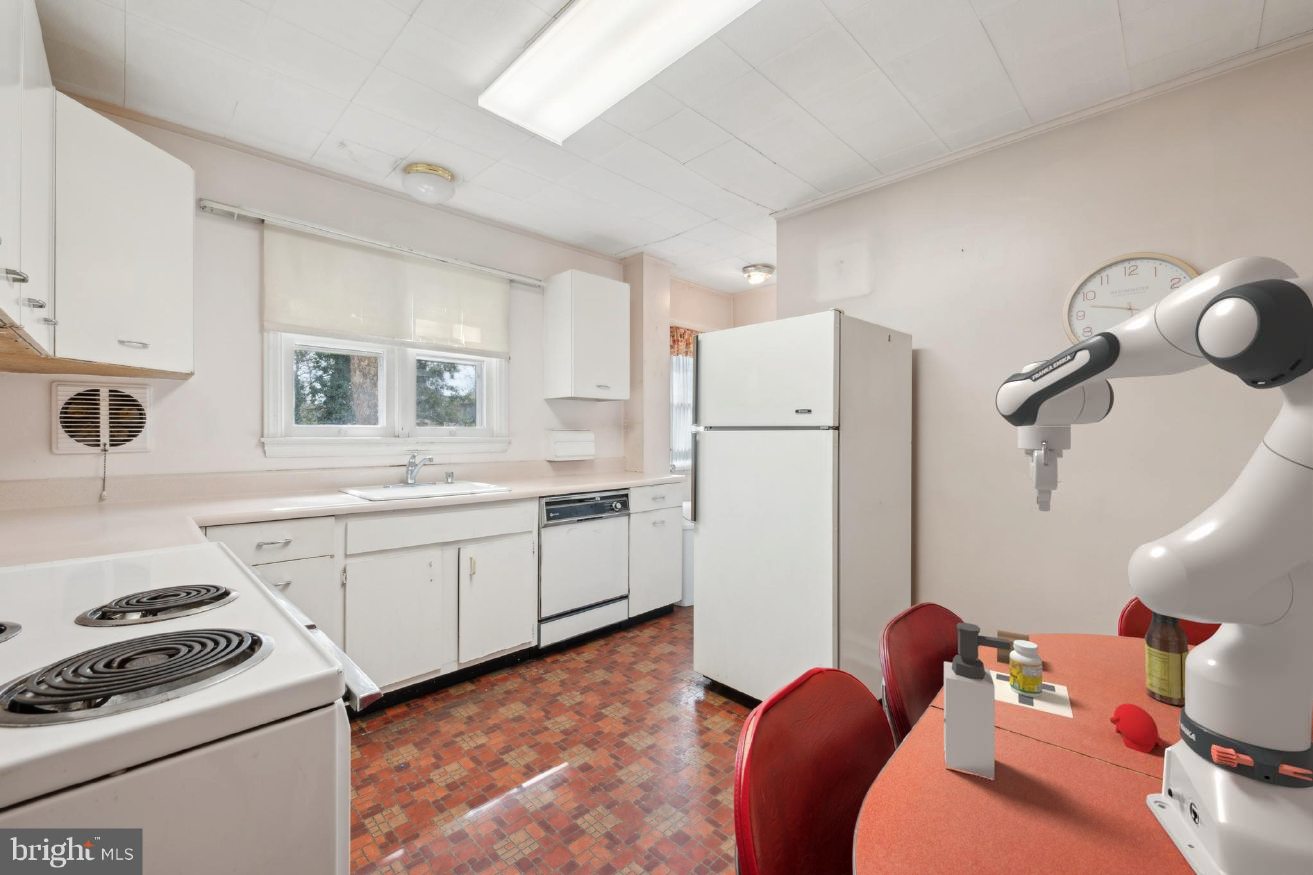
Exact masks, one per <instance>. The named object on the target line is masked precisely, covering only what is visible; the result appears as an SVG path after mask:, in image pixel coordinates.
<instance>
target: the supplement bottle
mask: <svg viewBox="0 0 1313 875" xmlns="http://www.w3.org/2000/svg"><path fill="white" fill-rule="evenodd" d="M1013 647H1014V649H1015V650H1013V651H1012V652H1011V653H1010V664H1009V674H1010V688H1011V689H1012V690H1013V691H1014V692H1016V693H1018V694H1020V695H1024V696H1028V697H1039V696H1041V695H1042V681H1043V661H1042V658H1041V656H1040V655H1038V653H1039V647H1038V644H1036V643H1034V642H1032V641H1030V640H1029V641H1024V640H1015V641H1014V645H1013Z"/></svg>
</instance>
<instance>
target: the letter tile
mask: <svg viewBox="0 0 1313 875" xmlns="http://www.w3.org/2000/svg"><path fill="white" fill-rule="evenodd" d="M989 670H990V673H991V676H992V680H993V683H994V686H995V701H998V702H1002V703H1007V704H1011V705H1015V706H1020V707H1024V708H1028V709H1032V710H1036V711H1041V712H1044V713H1045V712H1046V713H1050V714H1054V715H1057V716H1061V717H1066V718H1070V719H1074V716H1073V711H1072V707H1071V701H1070V698H1069V692H1068V687H1067V686H1065V685H1061V684H1056V683H1051V682H1045V681H1043V680H1042V695H1041V696H1039V697H1028V696H1024V695H1020V694H1018V693H1016V692H1014V691H1013V690H1012V689H1011V688H1010V673H1005V672H999V671H995V670H991V669H989Z"/></svg>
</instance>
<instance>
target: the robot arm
mask: <svg viewBox="0 0 1313 875" xmlns="http://www.w3.org/2000/svg"><path fill="white" fill-rule="evenodd" d="M1210 364H1212V365H1213V366H1214V367H1217V368H1219V369H1220V370H1222V371H1225V372H1227V373H1229V374H1231V375H1232V374H1233V375H1235V376H1237V377H1238V378H1239V379H1240V380H1241V381H1242V382H1243V383H1245V385H1246V386H1249V387H1251V388H1253V389H1256V390H1265V389H1266V390H1268V389H1273V388H1277V387H1278V388H1279V389H1280V391H1281V393H1282V397H1283V402H1282V407H1281V408H1280V410H1279V412H1278V415H1277V417H1276V418H1275V419H1274V421H1273V422H1272V424H1271V425H1270V427H1269V428H1268V430H1267V431H1266V433H1265V434H1264V436H1263V438H1262V439H1261V441H1260V443H1259V444H1258V446H1257V447H1256V449H1255V451H1254V452H1253V454H1252V455H1251V456H1250V459H1249V460H1248V462H1247V463H1246V465H1245V467H1244V468H1243V469H1242V471H1241V472H1240V474H1239V475H1238V477H1237V478H1236V479H1235V481H1234V482H1233V484H1232V485H1231V486H1230V487H1229V489H1227V491H1226V492H1225V493H1224V494H1222V496H1221V497H1220V498H1218V500H1216V501H1215V502H1214V503H1212V504H1211V505H1210V506H1208V508H1206V509H1205V510H1204V511H1203V512H1201V513H1200V514H1198V515H1197V516H1195V517H1194V518H1193V519H1191V520H1190V521H1189V522H1187V523H1186V524H1184V525H1183V526H1181V527H1179V528H1178V529H1176V530H1174V531H1172V532H1171V533H1169V534H1167V535H1165V536H1163V537H1160V538H1157V539H1155V540H1152V541H1150V542H1146V543H1143V544H1141V545H1140V546H1138V547H1136V549H1135V550H1134V551H1133V553H1132V554H1131V556H1130V558H1129V561H1128V564H1127V578H1128V583H1129V585H1130V588H1131V589H1132V591H1133V593H1134V594H1135V596H1136V598H1138V600H1139V601H1140V602H1141V603H1142V604H1143V605H1144V606H1145V607H1146V608H1148V609H1149V610H1151V611H1154V612H1156V613H1158V614H1161V615H1166V616H1170V617H1175V618H1179V620H1180V619H1181V620H1185V621H1190V622H1195V623H1201V624H1221V625H1220V626H1219V628H1218V629H1217V630H1216V631H1215V633H1214V634H1213V635H1212V636H1210V638H1208V639H1207V640H1205V641H1203V642H1201V643H1200V644H1198V645H1196V646H1194V647H1193V648H1192V649H1191V650H1190V651H1189V654H1188V655H1187V658H1186V661H1185V705H1183V707H1182V708H1181V709H1180V715H1179V719H1178V725H1179V735H1180V739H1179V740H1178V741H1177V742H1176V743H1174V744H1173V745H1171V746H1169V747H1167V748H1165V750H1164V760H1163V762H1164V763H1163V774H1162V789H1161V793H1149V794H1147V796H1146V799H1145V800H1146V801H1145V804H1146V805H1147V807H1148V809H1150V811H1151V812H1152V814H1153V815H1154V816H1155V818H1156V819H1157V820H1158V822H1159V824H1160V826H1162V827H1163V829H1164V831H1165V832H1166V834H1168V837H1169V838H1170V839H1171V840H1172V841H1173V843H1174V845H1175V846H1176V847H1177V849H1178V850H1179V852H1180V853H1181V854H1182V856H1183V857H1184V858H1185V860H1186V861H1187V863H1188V864H1189V865H1190V867H1191V869H1192V870H1193V871H1194V872H1195V874H1196V875H1313V741H1312V723H1313V722H1312V719H1313V718H1312V717H1313V275H1312V276H1302V277H1301V276H1300V275H1298V274H1297V272H1296V271H1295V269H1293V268H1292V267H1291V266H1289V265H1288V264H1286V263H1284V262H1283V261H1281V260H1278V259H1276V258H1272V257H1269V256H1261V255H1252V256H1251V255H1250V256H1242V257H1238V258H1235V259H1232V260H1229V261H1227V262H1225V263H1221V264H1220V265H1218V266H1216V267H1213V268H1211V269H1210V270H1208V271H1205V272H1203V273H1202V274H1200V275H1198V276H1196V277H1194V278H1193V279H1191V280H1189V281H1187V282H1185V283H1184V284H1182V285H1181V286H1179V287H1178V288H1176V289H1174V290H1173V291H1172V292H1170V293H1168V294H1167V295H1166V296H1164V297H1163V298H1161V299H1160V300H1158V301H1157V302H1155V303H1154V304H1152V305H1151V306H1149V307H1147V308H1146V309H1144V310H1142V311H1140V312H1138V313H1137V314H1135V315H1133V316H1131V317H1130V318H1128V319H1125V320H1124V321H1122V322H1121V323H1118V324H1116V325H1114V326H1111V327H1109V328H1107V329H1105V330H1103V331H1101V332H1099V333H1097V334H1094V335H1092V336H1090V337H1088V338H1086V339H1084V340H1082V341H1080V342H1077V343H1076V344H1074V345H1072V346H1070V347H1069V348H1067V349H1065V350H1063V351H1061V352H1060V353H1059V354H1057V355H1055V356H1054V357H1052V358H1049V359H1046V360H1045V359H1044V360H1041V361H1040V360H1039V361H1035V362H1031V363H1029V364H1027V365H1026V366H1024V367H1023V368H1022V369H1021V372H1017V373H1016V372H1015V373H1014V374H1012V375H1011V376H1009V377H1007V378H1006V380H1004V382H1003V383H1002V384H1001V385H1000V387H999V388H998V389H997V392H996V395H995V407H996V411H997V412H998V413H999V415H1000V416H1001V417H1002V418H1003V419H1004V420H1005V421H1006V422H1008V423H1009V424H1010V425H1012V426H1014V427H1016V428H1017V436H1016V437H1017V438H1016V439H1017V449H1019V450H1024V457H1025V458H1027V462H1028V469H1029V475H1030V479H1031V481H1032V485H1033V487H1034V489H1035V493H1036V504H1037V505H1038V510H1039V511H1040V512H1050V511H1051V500H1052V491H1056V490H1057V489H1058V476H1059V475H1058V473H1059V472H1058V470H1059V469H1058V458H1059V459H1060V458H1064V457H1063V456H1064V455H1063V454H1064V453H1063V452H1064V451H1063V450H1066V451H1067V450H1068V451H1069V450H1071V448H1072V447H1071V444H1072V443H1071V440H1072V439H1071V437H1072V436H1071V435H1072V432H1071V431H1072V430H1071V429H1072V427H1071V426H1072V425H1089V424H1094V423H1099V422H1101V421H1102V420H1104V419H1105V418H1106V417H1107V416H1108V415H1109V414H1110V412H1111V411H1112V408H1113V406H1114V403H1115V402H1114V401H1115V393H1114V389H1113V387H1112V384H1111V383H1110V382H1109V381H1108V380H1112V379H1122V378H1123V379H1125V378H1139V377H1141V378H1142V377H1160V376H1171V375H1177V374H1182V373H1184V372H1189V371H1193V370H1196V369H1199V368H1202V367H1204V366H1207V365H1210Z"/></svg>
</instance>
